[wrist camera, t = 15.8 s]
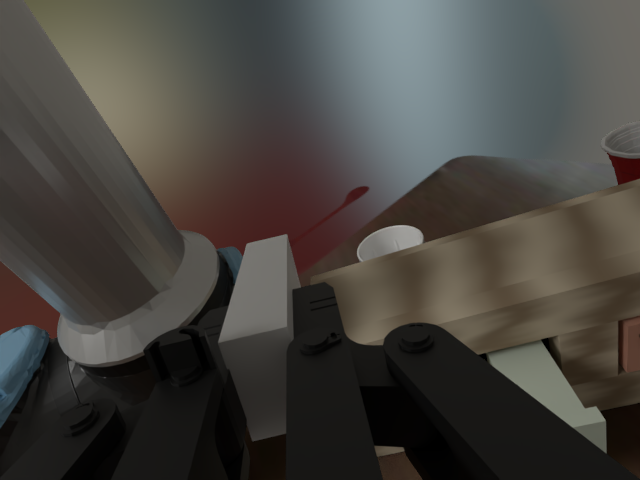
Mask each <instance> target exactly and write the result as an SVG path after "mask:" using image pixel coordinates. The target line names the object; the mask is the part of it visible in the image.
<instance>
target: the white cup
mask: <svg viewBox="0 0 640 480" xmlns="http://www.w3.org/2000/svg"><path fill="white" fill-rule="evenodd" d="M423 243H425V242H424V237H423V234H422V232H421V231H420V230H418V229H417V228H415V227H412V226H406V225H398V226H391V227H387V228H384V229H381V230H378V231H376V232H374V233H372V234H371V235H369V236H368V237H367V238H365V239H364V240H363V241H362V242H361V244H360V245H359V247H358V250H357V256H358V258H359V260H360V262H363V261H366V260H370V259H373V258H376V257H380V256H383V255H386V254H390V253H393V252H396V251H400V250H403V249H406V248H410V247H413V246H417V245H420V244H423Z"/></svg>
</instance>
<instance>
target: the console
mask: <svg viewBox="0 0 640 480" xmlns="http://www.w3.org/2000/svg"><path fill="white" fill-rule="evenodd" d="M322 282H326V283H327V284H329V285H330V286H332V287H333V288H334V292H335V296H336V300H337V304H338V308H339V312H340V316H341V319H342V323H343V327H344V331H345V333H346V335H347V337H348V338H349V339H351V340H352V341H354V342H356V343H359V344H364V345H383V342H384V338H385V337H386V336H387V334H388V333H389V332H390V331H392V330H393V329H395V328H397V327H399V326H402V325H406V324H409V323H417V322H421V323H423V322H424V323H429V324H435V325H437V326H439V327H441V328H443V329H445V330H446V331H448V332H449V333H450V334H452V335H453V336H454V337H455V338H457V339H458V340H459V341H461V342H462V343H463V344H465V345H466V346H467V347H468V348H470V349H471V350H472V351H474V352H475V353H476V354H478V355H479V354H483V353H487V352H491V351H495V350H499V349H503V348H508V347H512V346H516V345H520V344H524V343H528V342H532V341H537V340H541V339H545V338H548V339H549V348H550V355H551V357H552V358H553V360H554V361H555V363H556V364H557V366H558V367H559V369H560V371H561V372H562V374H563V375H564V377H565V378H566V380H567V381H568V383H569V385H570V386H571V388H572V389H573V391H574V392H575V394H576V395H577V397H578V399H579V400H580V402H581V403H582V405H583V406H584V408H585V409H586V408H590V407H595V406H596V407H597V408H598V410H599V411H602V410H607V409H612V408H617V407H622V406H626V405H631V404H636V403H640V370H638V371H633V372H629V373H627V372H626V371H625V370H624V368H623V367H622V366H621V365H620V364H619V353H618V321H619V320H623V319H627V318H632V317H636V316H640V179H637V180H634V181H631V182H627V183H624V184H621V185H617V186H614V187H611V188H607V189H604V190H601V191H597V192H594V193H591V194H587V195H584V196H581V197H577V198H574V199H570V200H567V201H564V202H560V203H557V204H554V205H550V206H547V207H544V208H540V209H537V210H534V211H530V212H527V213H524V214H520V215H517V216H514V217H510V218H507V219H504V220H500V221H497V222H494V223H490V224H487V225H483V226H480V227H477V228H473V229H470V230H467V231H463V232H460V233H457V234H453V235H450V236H447V237H443V238H440V239H437V240H433V241H430V242H427V243H423V244H420V245H417V246H413V247H410V248H406V249H403V250H400V251H396V252H393V253H390V254H386V255H383V256H380V257H376V258H373V259H370V260H366V261H363V262H360V263H356V264H353V265H350V266H346V267H343V268H340V269H336V270H333V271H330V272H326V273H323V274H319V275H316V276H313V277H311V285H313V284H318V283H322ZM374 447H375V451H376V455H377V457H379V456H384V455H389V454H393V453H398V452H403V451H404V448H403V447H387V446H374Z"/></svg>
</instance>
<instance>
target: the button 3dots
mask: <svg viewBox="0 0 640 480" xmlns="http://www.w3.org/2000/svg"><path fill="white" fill-rule="evenodd" d="M618 348H619V364H620V365H621V366H622V367H623V368H624V370H625V371H626V372H627V373H629V372H633V371H638V370H640V316H636V317H632V318H627V319H623V320H619V321H618Z"/></svg>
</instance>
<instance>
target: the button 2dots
mask: <svg viewBox="0 0 640 480" xmlns="http://www.w3.org/2000/svg"><path fill="white" fill-rule="evenodd" d="M486 356H487V361H488V363H489V364H491V365H492V366H493V367H495V368H496V369H497V370H498V371H500V372H501V373H502V374H504V375H505V376H506V377H508V378H509V379H510V380H511V381H513V382H514V383H515V384H517V385H518V386H519V387H521V388H522V389H523V390H524V391H526V392H527V393H528V394H530V395H531V396H532V397H534V398H535V399H536V400H537V401H539V402H540V403H541V404H543V405H544V406H545V407H547V408H548V409H549V410H550V411H552V412H553V413H554V414H556V415H557V416H558V417H560V418H561V419H562V420H563V421H565V422H566V423H567V424H569V425H570V426H571V427H573V428H574V429H575V430H577V431H578V432H579V433H580V434H582V435H583V436H584V437H586V438H587V439H588V440H590V441H591V442H592V443H593V444H595V445H596V446H597V447H599V448H600V449H601V450H603V451H604V452H605V453H606V454H607V451H606V420H605V419H604V417H603V416H602V414H601V413H600V411H599V410H598V408H597V407H596V406H595V407H590V408H586V409H585V408H584V406H583V405H582V403H581V402H580V400H579V399H578V397H577V395H576V394H575V392H574V391H573V389H572V388H571V386H570V385H569V383H568V381H567V380H566V378H565V377H564V375H563V374H562V372H561V371H560V369H559V367H558V366H557V364H556V363H555V361H554V360H553V358H552V357H551V355H550V354H549V352H548V350H547V349H546V347H545V346H544V344H543V343H542V341H541V340H537V341H532V342H528V343H524V344H520V345H516V346H512V347H508V348H503V349H499V350H495V351H491V352H487V353H486Z"/></svg>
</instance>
